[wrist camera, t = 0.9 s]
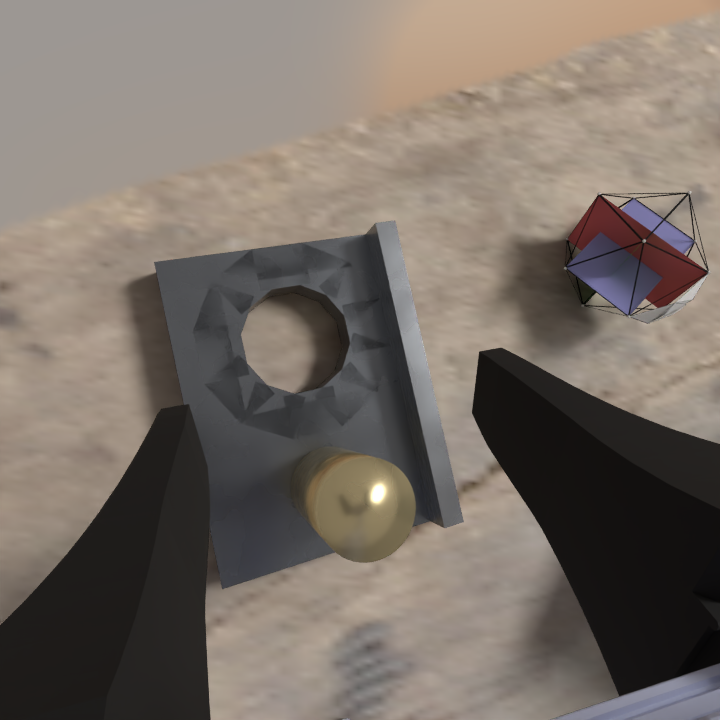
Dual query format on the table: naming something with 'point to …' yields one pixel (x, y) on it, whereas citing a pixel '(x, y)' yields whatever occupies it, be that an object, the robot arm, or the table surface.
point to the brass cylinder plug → (354, 502)
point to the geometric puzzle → (635, 258)
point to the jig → (306, 409)
